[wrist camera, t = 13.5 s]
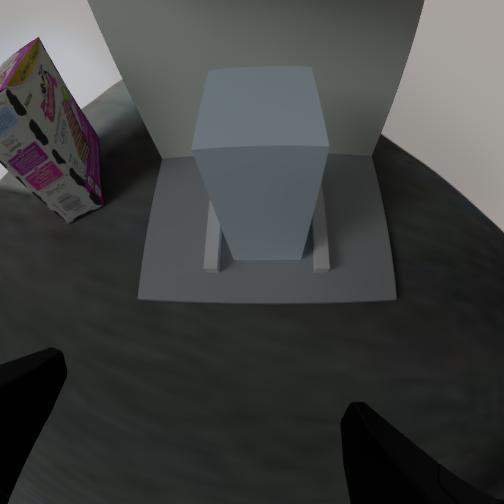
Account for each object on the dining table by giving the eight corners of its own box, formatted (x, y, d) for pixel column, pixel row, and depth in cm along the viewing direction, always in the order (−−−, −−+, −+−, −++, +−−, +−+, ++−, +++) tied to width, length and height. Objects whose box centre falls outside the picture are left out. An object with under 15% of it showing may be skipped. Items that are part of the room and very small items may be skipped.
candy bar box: (107, 205, 25) (5, 85, 10) (69, 226, 25) (-40, 129, 9) (101, 135, 29) (39, 33, 13) (69, 153, 28) (0, 63, 13)
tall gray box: (300, 259, 21) (329, 146, 9) (233, 260, 22) (191, 149, 10) (297, 196, 23) (311, 67, 11) (236, 196, 23) (208, 70, 12)
